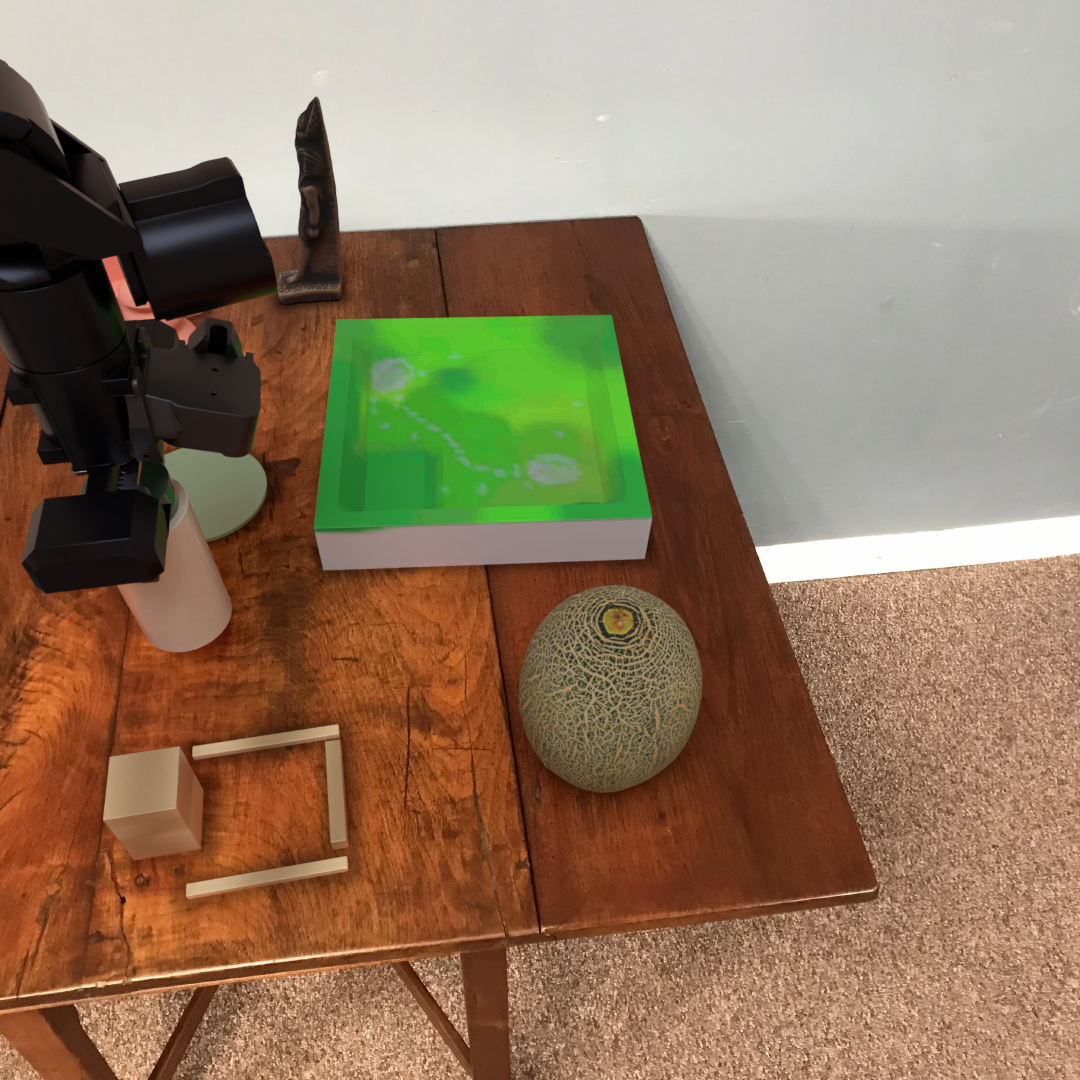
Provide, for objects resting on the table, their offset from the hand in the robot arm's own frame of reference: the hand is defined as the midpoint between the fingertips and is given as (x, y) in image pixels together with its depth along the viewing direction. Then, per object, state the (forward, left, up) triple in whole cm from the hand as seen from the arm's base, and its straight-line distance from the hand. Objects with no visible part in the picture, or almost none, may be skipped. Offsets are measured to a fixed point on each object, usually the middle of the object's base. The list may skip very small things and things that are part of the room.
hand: (154, 541), depth 58 cm
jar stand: (-1, -13, -12) cm, 18 cm away
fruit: (+22, -19, -12) cm, 32 cm away
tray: (+26, +10, -12) cm, 31 cm away
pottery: (+4, +39, -12) cm, 41 cm away
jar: (-4, +1, -6) cm, 8 cm away
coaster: (+3, +15, -12) cm, 20 cm away
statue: (+20, +38, -12) cm, 45 cm away
